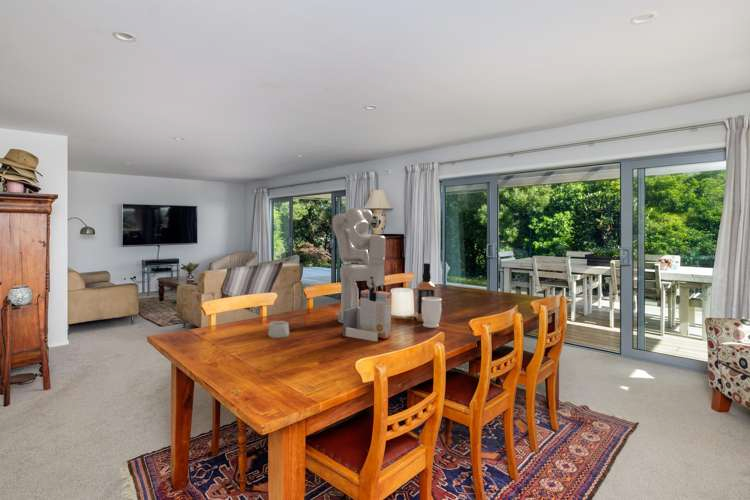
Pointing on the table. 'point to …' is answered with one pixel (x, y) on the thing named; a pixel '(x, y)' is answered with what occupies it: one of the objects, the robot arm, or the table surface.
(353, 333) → the shelf nook
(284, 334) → the grey rounded block
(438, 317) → the jar
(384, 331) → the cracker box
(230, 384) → the table surface
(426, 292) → the whiskey bottle
